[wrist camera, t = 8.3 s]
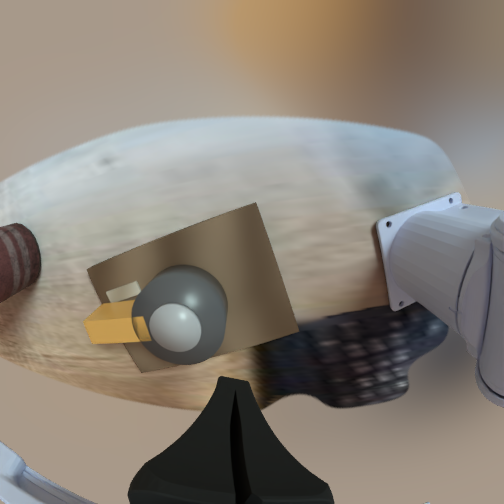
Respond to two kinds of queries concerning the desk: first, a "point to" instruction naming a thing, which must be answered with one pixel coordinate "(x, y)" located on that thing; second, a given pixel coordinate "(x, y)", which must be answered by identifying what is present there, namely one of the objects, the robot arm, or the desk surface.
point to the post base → (217, 264)
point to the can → (17, 259)
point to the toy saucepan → (168, 316)
